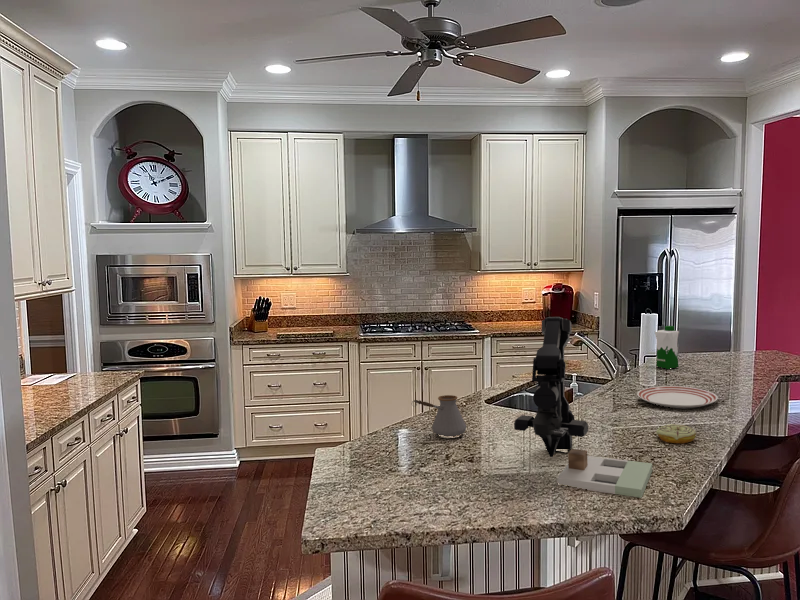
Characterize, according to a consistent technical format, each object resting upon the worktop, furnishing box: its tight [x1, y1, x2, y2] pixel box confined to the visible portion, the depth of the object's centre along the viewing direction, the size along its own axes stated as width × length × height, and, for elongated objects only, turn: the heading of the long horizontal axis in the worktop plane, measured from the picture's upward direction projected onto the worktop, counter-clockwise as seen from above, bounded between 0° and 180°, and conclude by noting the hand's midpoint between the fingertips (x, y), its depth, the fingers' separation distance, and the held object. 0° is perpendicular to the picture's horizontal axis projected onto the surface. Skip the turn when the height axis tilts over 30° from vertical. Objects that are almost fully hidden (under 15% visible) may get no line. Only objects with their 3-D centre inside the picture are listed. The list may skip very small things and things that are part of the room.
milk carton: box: [654, 325, 680, 370], centre depth 284 cm, size 9×9×20 cm
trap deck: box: [556, 455, 653, 499], centre depth 153 cm, size 20×19×2 cm
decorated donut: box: [655, 423, 697, 444], centre depth 181 cm, size 10×11×4 cm
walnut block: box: [567, 448, 588, 470], centre depth 156 cm, size 4×4×4 cm
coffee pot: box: [411, 394, 467, 436], centre depth 192 cm, size 21×12×15 cm, turn 132°
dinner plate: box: [636, 385, 719, 409], centre depth 223 cm, size 27×27×3 cm
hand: (551, 456), depth 160 cm, fingers closed
